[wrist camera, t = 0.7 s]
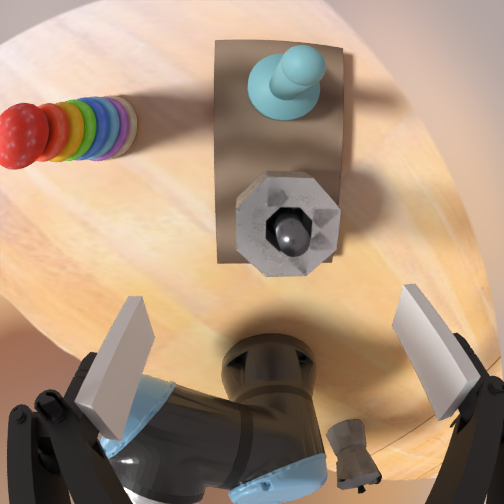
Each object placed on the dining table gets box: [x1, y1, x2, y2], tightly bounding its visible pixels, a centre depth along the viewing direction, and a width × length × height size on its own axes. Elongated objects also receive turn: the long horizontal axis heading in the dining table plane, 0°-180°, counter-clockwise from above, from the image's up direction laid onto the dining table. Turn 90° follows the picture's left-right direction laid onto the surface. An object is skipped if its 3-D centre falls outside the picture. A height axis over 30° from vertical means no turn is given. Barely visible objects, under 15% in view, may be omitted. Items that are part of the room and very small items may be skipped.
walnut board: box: [214, 40, 344, 264], centre depth 30 cm, size 26×14×2 cm, turn 0°
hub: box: [247, 45, 326, 121], centre depth 21 cm, size 7×7×14 cm
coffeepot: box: [326, 420, 382, 493], centre depth 47 cm, size 15×9×18 cm, turn 55°
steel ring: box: [236, 171, 341, 277], centre depth 26 cm, size 9×9×4 cm
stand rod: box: [266, 207, 310, 257], centre depth 27 cm, size 6×6×11 cm
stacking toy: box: [0, 96, 137, 170], centre depth 21 cm, size 8×8×19 cm
